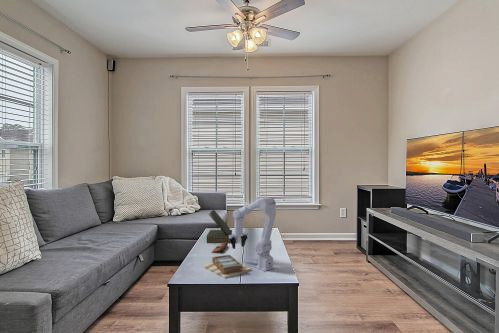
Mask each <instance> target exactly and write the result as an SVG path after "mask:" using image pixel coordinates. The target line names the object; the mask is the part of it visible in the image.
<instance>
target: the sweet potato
mask: <svg viewBox="0 0 499 333" xmlns="http://www.w3.org/2000/svg"><path fill="white" fill-rule="evenodd" d="M228 244H229V243H219V244H218V245H216V246H215V248H214V249H213V250H212V251H211V252H210V253H211V254H222V253H223V252H224V251H225V250H226V249H227V248H228V246H229V245H228Z"/></svg>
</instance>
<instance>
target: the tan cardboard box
mask: <svg viewBox="0 0 499 333" xmlns="http://www.w3.org/2000/svg"><path fill="white" fill-rule="evenodd" d="M211 259H212V260H211V263H213V264H214V265H215V266H216V267H217V268H218V269H219V270H220V271H221V272H222V273H223V274H228V273H234V272H241V271H243V265H244V264H242V263H241V262H239V261H238V260H237V259H236V258H234V257H233V256H232V255H231V254H224V255H218V256H212V257H211Z"/></svg>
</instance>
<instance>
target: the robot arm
mask: <svg viewBox="0 0 499 333" xmlns="http://www.w3.org/2000/svg"><path fill="white" fill-rule="evenodd" d="M276 204H277V202H276V200H275V199H274V198H273V197H265V198H259V199H258V200H256V201H254V202H252V203H251V204H250V205H249V204H244V205H243V206H242V207H239V208H238V209H235V210H234V211H233V212H232V217H233V218H234V227H233V229H234V231H233V233H232V235H229V239H230V241H231V242H230V244H231V246H232V247H231V249H233V250H235V249H236V244H237V239H236V238H240V241H241V242H240V243H241V244H240V245H241V247H243V248H244V247H245V244H246V242H247V239H248V238H249V236H248V235H249V233H248V232H244V220H245V218H244V217H246V216H247V215H249V214H251V213H252V211H253V210H255V209H257V208H260V209H261V210H262V211H263V213H265V215H266V216H265V221H264V223H263V224H264V225H263V228H262V232H261V236H260V239H259V240H258V242H257V244H256V245H255V250H254V251H255V252H256V253H257V265H255V266H254V267H255V268H256V269H259V270H261V271H263V272H267V271H269V270H273V269H274V257H273V256H272V255H271V254H270V253H271V251H272V249H273V248H272V240H271V236H272V232H273V228H274V224H275V220H276V216H277V210H276Z"/></svg>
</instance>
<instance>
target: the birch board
mask: <svg viewBox="0 0 499 333" xmlns="http://www.w3.org/2000/svg"><path fill="white" fill-rule="evenodd" d="M242 265H243V271H241V272H234V273H228V274H223V273H222V272H221V271H220V270H219V269H218V268H217V267H216V266H215V265H214V264H213V263H212V262H210V263H206V264H203V265H202V267H203V268H204V269H206V270H208V271H210V272H212V273H214V274H216V276H219V277H221V278H223V279H227V278H230V277H231V278H232V277H234V276H237V275H241V274H244V273H248V272H250V271H252V268H250V267H248V266H246V265H244V264H242Z"/></svg>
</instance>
